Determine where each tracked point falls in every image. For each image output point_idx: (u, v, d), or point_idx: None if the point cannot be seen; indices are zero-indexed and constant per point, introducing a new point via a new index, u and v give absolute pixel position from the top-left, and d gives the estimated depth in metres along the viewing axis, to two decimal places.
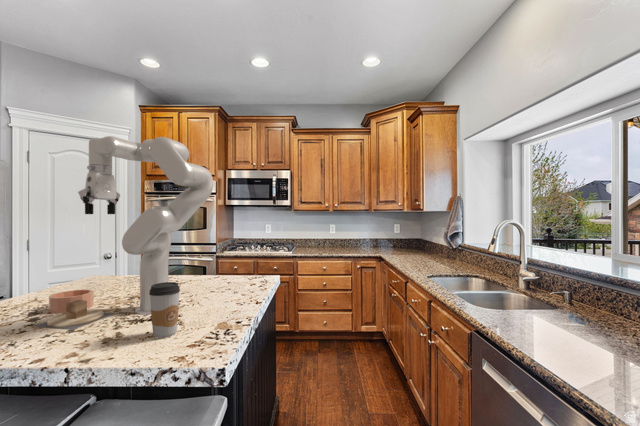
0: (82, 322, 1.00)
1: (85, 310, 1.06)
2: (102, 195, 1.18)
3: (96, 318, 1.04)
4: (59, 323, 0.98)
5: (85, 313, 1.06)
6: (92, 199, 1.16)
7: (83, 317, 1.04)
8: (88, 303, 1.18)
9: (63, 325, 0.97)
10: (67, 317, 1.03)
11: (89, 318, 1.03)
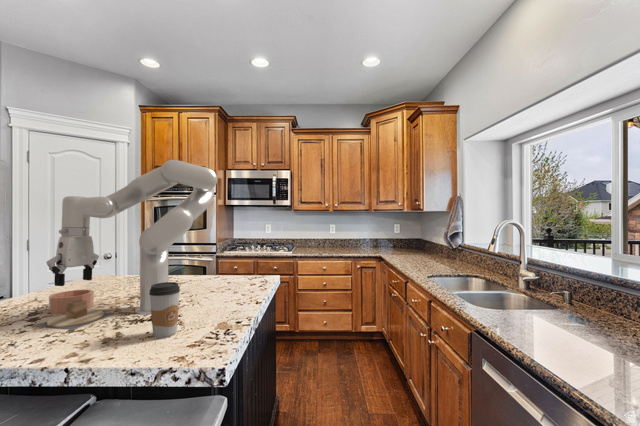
0: (82, 322, 1.00)
1: (85, 310, 1.06)
2: (76, 262, 1.02)
3: (96, 318, 1.04)
4: (59, 323, 0.98)
5: (85, 313, 1.06)
6: (63, 268, 1.00)
7: (83, 317, 1.04)
8: (88, 303, 1.18)
9: (63, 325, 0.97)
10: (67, 317, 1.03)
11: (89, 318, 1.03)
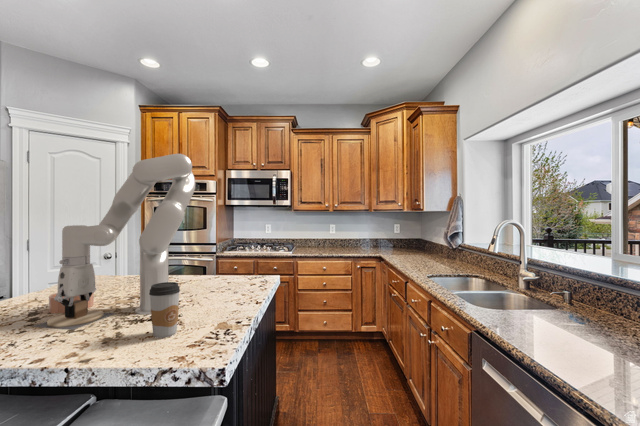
0: (82, 322, 1.00)
1: (85, 310, 1.06)
2: (78, 291, 1.02)
3: (96, 318, 1.04)
4: (59, 323, 0.98)
5: (85, 313, 1.06)
6: (71, 300, 1.02)
7: (83, 317, 1.04)
8: (88, 303, 1.18)
9: (63, 325, 0.97)
10: None
11: (89, 318, 1.03)
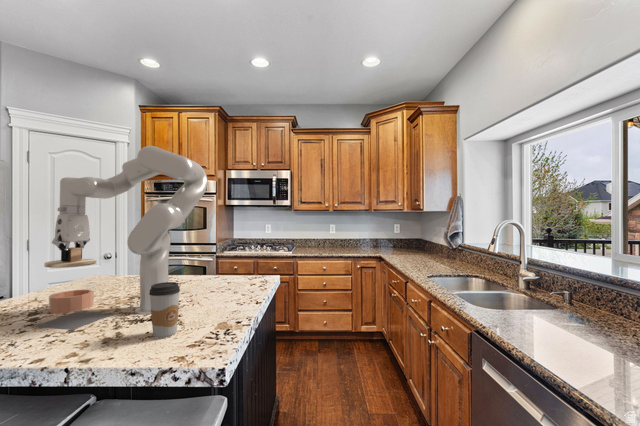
0: (77, 264, 1.09)
1: (79, 256, 1.15)
2: (73, 238, 1.12)
3: (90, 263, 1.13)
4: (56, 264, 1.07)
5: (79, 259, 1.15)
6: (67, 245, 1.11)
7: (78, 262, 1.13)
8: (88, 303, 1.18)
9: (60, 265, 1.07)
10: (63, 261, 1.12)
11: (83, 262, 1.12)
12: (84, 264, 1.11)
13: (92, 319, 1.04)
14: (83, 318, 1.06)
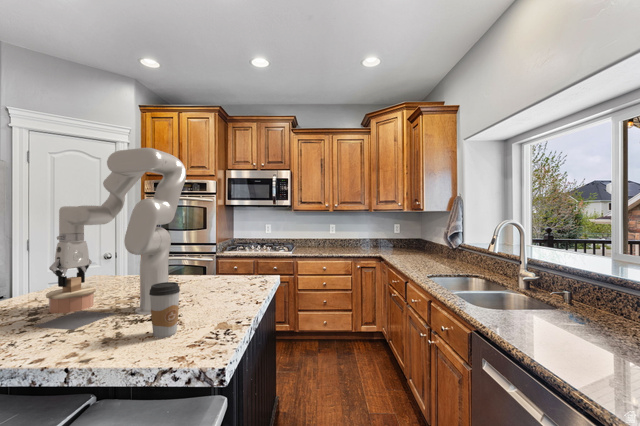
0: (76, 295, 1.14)
1: (79, 285, 1.19)
2: (73, 264, 1.16)
3: (89, 292, 1.18)
4: (56, 295, 1.12)
5: (79, 288, 1.19)
6: (64, 271, 1.14)
7: (78, 291, 1.17)
8: (88, 303, 1.18)
9: (60, 297, 1.11)
10: (63, 291, 1.17)
11: (83, 292, 1.16)
12: (83, 294, 1.15)
13: (92, 319, 1.04)
14: (83, 318, 1.06)
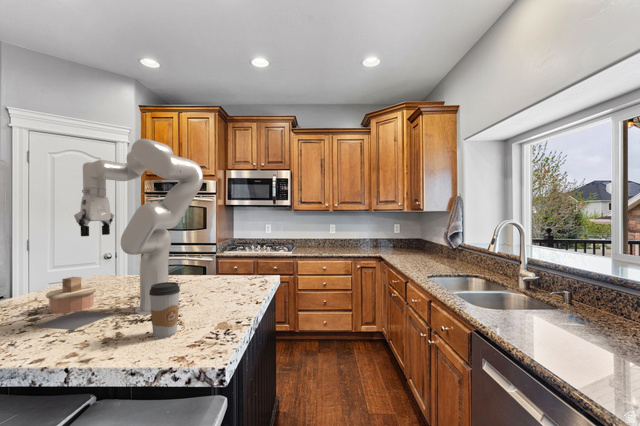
0: (76, 295, 1.14)
1: (79, 285, 1.19)
2: (97, 217, 1.22)
3: (89, 292, 1.18)
4: (56, 295, 1.12)
5: (79, 288, 1.19)
6: (88, 221, 1.19)
7: (78, 291, 1.17)
8: (88, 303, 1.18)
9: (60, 297, 1.11)
10: (63, 291, 1.17)
11: (83, 292, 1.16)
12: (83, 294, 1.15)
13: (92, 319, 1.04)
14: (83, 318, 1.06)
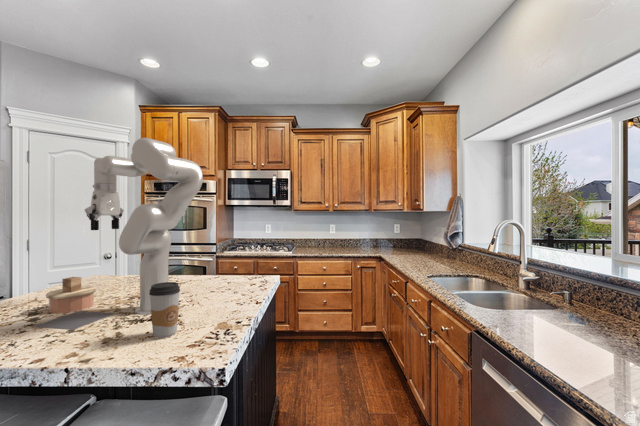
0: (76, 295, 1.14)
1: (79, 285, 1.19)
2: (107, 211, 1.25)
3: (89, 292, 1.18)
4: (56, 295, 1.12)
5: (79, 288, 1.19)
6: (97, 216, 1.22)
7: (78, 291, 1.17)
8: (88, 303, 1.18)
9: (60, 297, 1.11)
10: (63, 291, 1.17)
11: (83, 292, 1.16)
12: (83, 294, 1.15)
13: (92, 319, 1.04)
14: (83, 318, 1.06)
